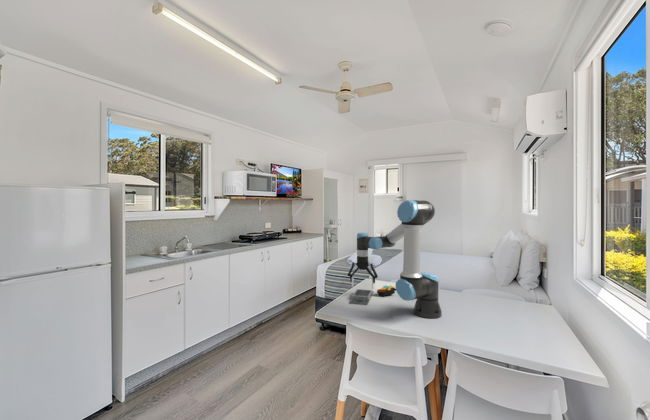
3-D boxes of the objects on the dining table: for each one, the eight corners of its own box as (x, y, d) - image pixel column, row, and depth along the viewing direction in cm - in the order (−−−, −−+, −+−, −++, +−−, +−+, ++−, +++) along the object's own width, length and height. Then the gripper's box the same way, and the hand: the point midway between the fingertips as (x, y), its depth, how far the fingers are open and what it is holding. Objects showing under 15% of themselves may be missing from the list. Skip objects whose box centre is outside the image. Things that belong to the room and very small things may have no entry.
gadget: (374, 294, 195) (374, 286, 195) (390, 292, 201) (390, 284, 201) (380, 297, 190) (380, 288, 190) (396, 295, 195) (396, 286, 195)
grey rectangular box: (367, 305, 175) (367, 300, 175) (349, 303, 178) (349, 298, 178) (373, 292, 202) (373, 288, 202) (358, 291, 205) (358, 287, 205)
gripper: (381, 255, 191) (381, 287, 191) (345, 254, 198) (345, 284, 198) (380, 257, 184) (380, 290, 184) (343, 255, 191) (343, 287, 191)
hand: (362, 287), depth 191 cm, fingers open, 13 cm apart
